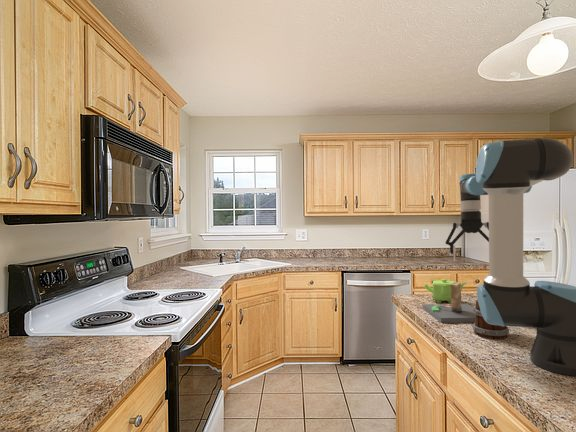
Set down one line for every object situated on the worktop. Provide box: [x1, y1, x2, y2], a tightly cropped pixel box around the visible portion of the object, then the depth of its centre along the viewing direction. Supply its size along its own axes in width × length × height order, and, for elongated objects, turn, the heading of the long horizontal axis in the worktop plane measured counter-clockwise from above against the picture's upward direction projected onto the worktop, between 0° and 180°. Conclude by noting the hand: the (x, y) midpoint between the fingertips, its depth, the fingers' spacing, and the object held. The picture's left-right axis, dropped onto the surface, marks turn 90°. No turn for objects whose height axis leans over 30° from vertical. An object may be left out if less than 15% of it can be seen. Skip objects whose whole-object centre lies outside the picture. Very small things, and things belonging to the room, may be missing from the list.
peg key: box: [434, 281, 463, 313], centre depth 151 cm, size 11×7×12 cm, turn 51°
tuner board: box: [422, 303, 475, 324], centre depth 151 cm, size 22×20×3 cm
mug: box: [471, 299, 510, 340], centre depth 127 cm, size 12×14×15 cm
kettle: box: [423, 278, 467, 304], centre depth 174 cm, size 15×14×11 cm
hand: (472, 261), depth 146 cm, fingers open, 13 cm apart
